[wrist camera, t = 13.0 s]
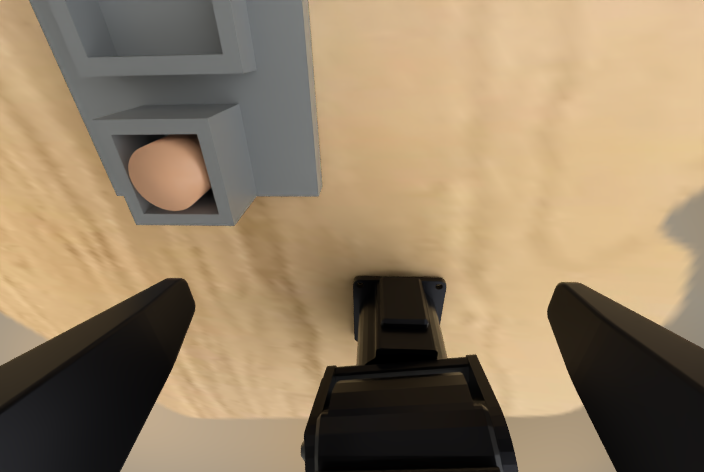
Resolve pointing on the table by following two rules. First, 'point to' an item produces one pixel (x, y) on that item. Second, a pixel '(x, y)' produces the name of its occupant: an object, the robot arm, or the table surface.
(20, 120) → the table surface
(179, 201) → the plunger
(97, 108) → the housing
